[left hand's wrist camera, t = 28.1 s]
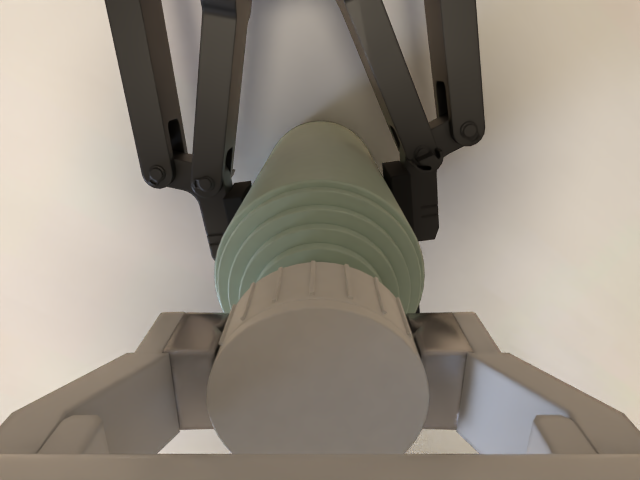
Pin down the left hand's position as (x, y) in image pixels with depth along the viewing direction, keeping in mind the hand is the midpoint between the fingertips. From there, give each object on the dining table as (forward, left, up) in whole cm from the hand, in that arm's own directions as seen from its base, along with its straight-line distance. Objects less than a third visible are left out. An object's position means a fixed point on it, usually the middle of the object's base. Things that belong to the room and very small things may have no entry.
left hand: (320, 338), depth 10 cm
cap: (0, 0, +2) cm, 2 cm away
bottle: (0, 0, -16) cm, 17 cm away
